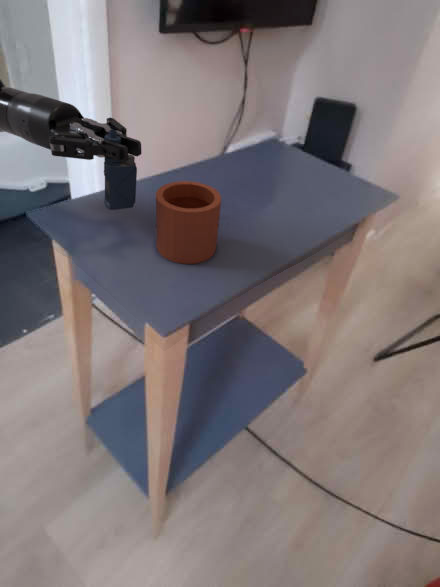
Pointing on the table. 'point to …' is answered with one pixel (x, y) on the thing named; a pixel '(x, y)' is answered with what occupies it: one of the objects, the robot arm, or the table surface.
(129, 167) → the vaping device
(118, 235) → the table surface
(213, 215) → the terracotta planter pot
